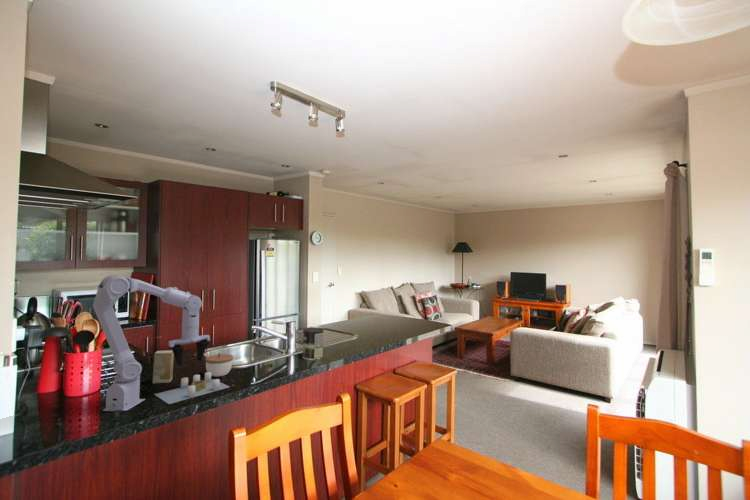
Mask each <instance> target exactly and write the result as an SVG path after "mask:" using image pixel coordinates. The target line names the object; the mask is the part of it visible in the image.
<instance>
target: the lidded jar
mask: <svg viewBox="0 0 750 500" xmlns="http://www.w3.org/2000/svg"><path fill="white" fill-rule="evenodd" d="M233 359H234V356H233V355H232V354H228V353H221V352H219V353H218V354H211V355H208V356H206V357H205V369H206V372H211V377H215V378H216V377H224V376H226V375H228V374H229V373H230V371H231V370H232V367H233Z"/></svg>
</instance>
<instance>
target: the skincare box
mask: <svg viewBox="0 0 750 500" xmlns="http://www.w3.org/2000/svg"><path fill="white" fill-rule="evenodd" d="M174 359H175V355H174V353H173V351H172V349H171V350H157V351H155V352H154V357H153V370H152V374H153V375H152V384H163V383H171V381H172V380H173V373H174Z"/></svg>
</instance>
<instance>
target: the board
mask: <svg viewBox="0 0 750 500" xmlns="http://www.w3.org/2000/svg"><path fill="white" fill-rule="evenodd" d="M195 381H201V375H200V374H194V375H193V377H192V382H195ZM204 381H205V382H206V389H204V390H202V391H195V385H192V384H189V377H188V376H187V377H182V378H181V379H180V387H177V388H174V389H170V390H166V391H162V392H157V393H154V396H156V397H157V398H159V399H160V400H162V401H163V402H165V403H166V404H168V405H172V404H174V403H178V402H182V401H186V400H189V399H191V398H192V399H193V398H196V397H199V396H203V395H208V394H211V393H213V392H218V391H220V390H225V389H228V388H230V386H229V385H227V384H225V383H223V382H221V380H220V379H219V378H215V379H214V378H212V376H211V372H207V371H206V372H204Z"/></svg>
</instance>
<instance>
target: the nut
mask: <svg viewBox="0 0 750 500" xmlns="http://www.w3.org/2000/svg"><path fill="white" fill-rule="evenodd" d="M191 385H195V391H202V390H204V389H206V382H205V379H204V380H200V381H195V382H193V381H192V382H191Z"/></svg>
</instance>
